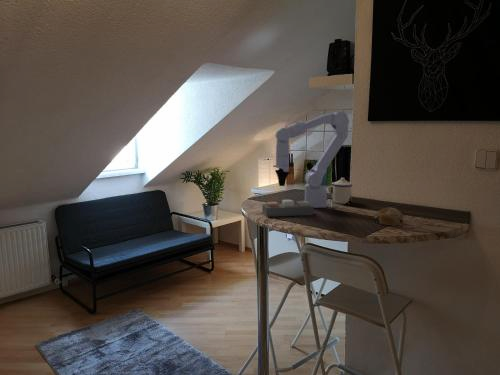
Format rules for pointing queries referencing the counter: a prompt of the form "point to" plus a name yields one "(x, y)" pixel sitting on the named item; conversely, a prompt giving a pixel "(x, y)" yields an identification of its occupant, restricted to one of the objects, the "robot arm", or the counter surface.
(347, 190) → the teacup with lid
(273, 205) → the brown cube
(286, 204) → the cream cube
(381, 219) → the bread roll
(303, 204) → the sage key
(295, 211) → the keypad
